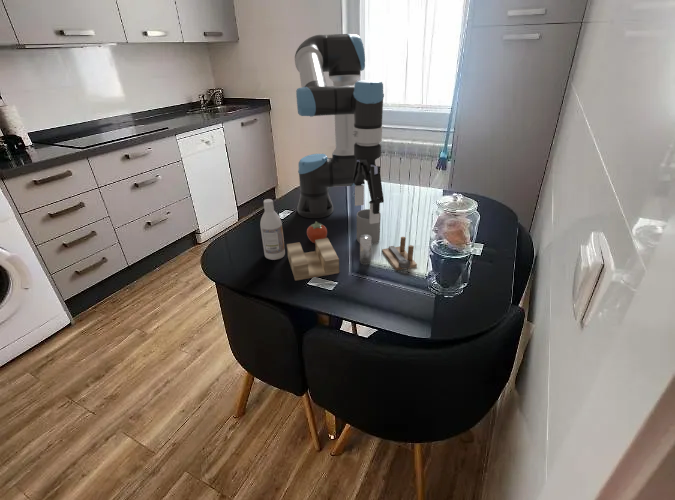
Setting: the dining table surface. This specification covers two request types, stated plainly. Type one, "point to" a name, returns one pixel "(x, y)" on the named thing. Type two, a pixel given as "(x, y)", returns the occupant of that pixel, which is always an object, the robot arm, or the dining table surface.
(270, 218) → the bath foam
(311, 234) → the tomato
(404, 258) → the peg rack
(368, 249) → the pin
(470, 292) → the dining table surface
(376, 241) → the cup
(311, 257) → the slot block
